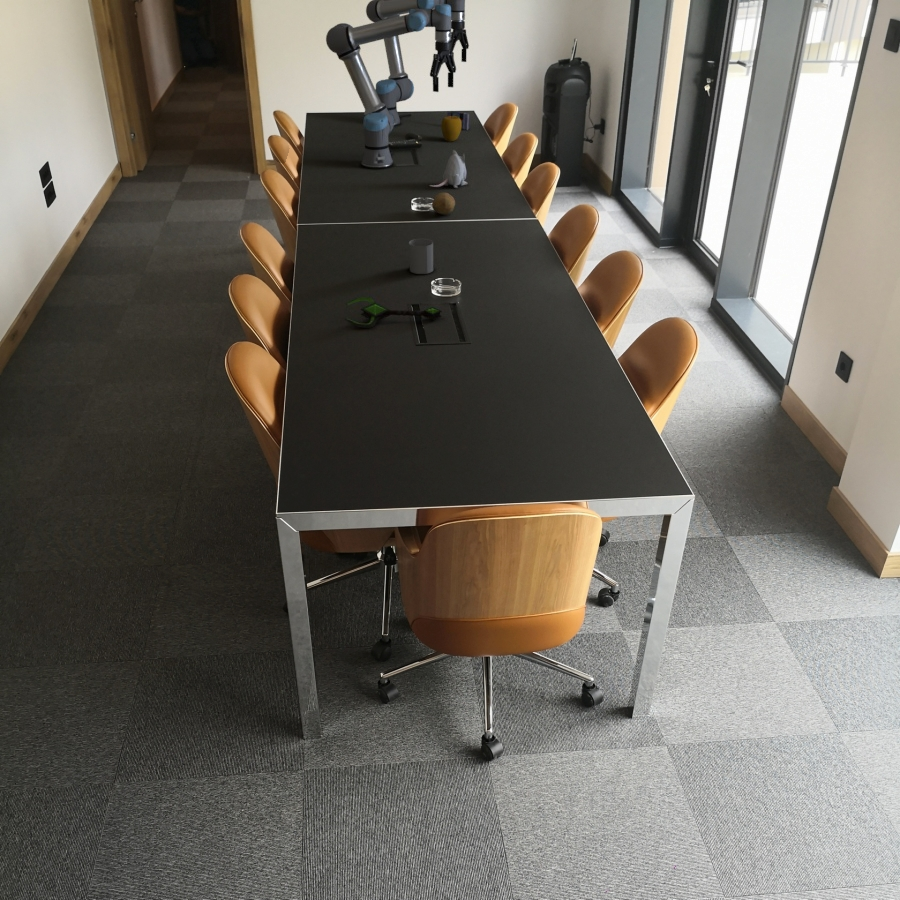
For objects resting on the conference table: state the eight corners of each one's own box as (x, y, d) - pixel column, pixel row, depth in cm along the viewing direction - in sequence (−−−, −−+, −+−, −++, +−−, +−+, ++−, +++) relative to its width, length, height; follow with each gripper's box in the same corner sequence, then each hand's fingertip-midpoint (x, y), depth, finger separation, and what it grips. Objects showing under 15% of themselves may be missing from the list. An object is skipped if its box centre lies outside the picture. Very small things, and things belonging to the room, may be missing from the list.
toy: (472, 184, 399) (472, 151, 391) (436, 195, 384) (436, 161, 376) (457, 180, 404) (458, 147, 396) (422, 191, 389) (421, 157, 381)
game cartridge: (446, 127, 498) (446, 111, 493) (448, 126, 500) (448, 110, 495) (466, 130, 492) (467, 113, 487) (469, 129, 494) (469, 113, 489)
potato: (453, 208, 369) (453, 189, 365) (456, 218, 357) (456, 199, 353) (431, 208, 368) (430, 189, 364) (432, 218, 356) (432, 199, 352)
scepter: (441, 292, 273) (345, 289, 270) (442, 322, 265) (344, 320, 263) (440, 305, 277) (346, 303, 275) (441, 335, 270) (344, 333, 268)
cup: (409, 265, 311) (408, 238, 306) (432, 265, 312) (431, 238, 307) (410, 274, 304) (409, 246, 299) (433, 273, 305) (433, 246, 299)
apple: (461, 143, 465) (461, 118, 458) (441, 143, 466) (441, 117, 459) (461, 138, 475) (461, 113, 468) (441, 138, 475) (441, 113, 468)
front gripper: (435, 45, 396) (436, 94, 408) (463, 38, 414) (463, 86, 426) (422, 43, 399) (422, 92, 411) (450, 37, 417) (450, 84, 429)
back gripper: (451, 23, 455) (451, 67, 466) (475, 18, 473) (474, 60, 484) (439, 22, 458) (439, 66, 470) (463, 17, 476) (463, 59, 488)
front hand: (443, 89), depth 418 cm, fingers open, 13 cm apart
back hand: (457, 63), depth 477 cm, fingers open, 13 cm apart
